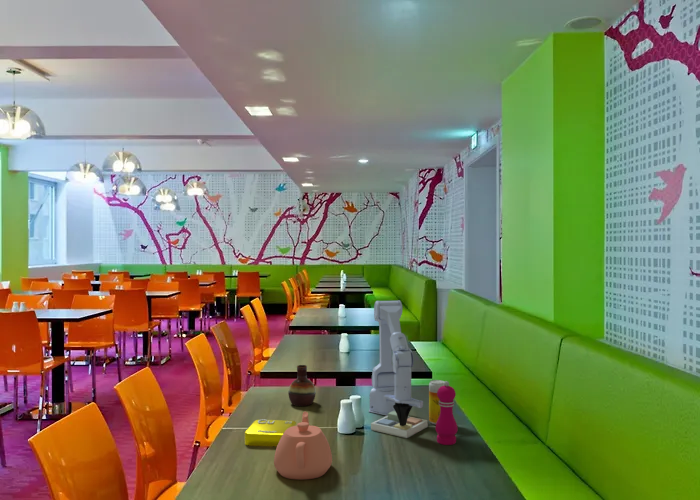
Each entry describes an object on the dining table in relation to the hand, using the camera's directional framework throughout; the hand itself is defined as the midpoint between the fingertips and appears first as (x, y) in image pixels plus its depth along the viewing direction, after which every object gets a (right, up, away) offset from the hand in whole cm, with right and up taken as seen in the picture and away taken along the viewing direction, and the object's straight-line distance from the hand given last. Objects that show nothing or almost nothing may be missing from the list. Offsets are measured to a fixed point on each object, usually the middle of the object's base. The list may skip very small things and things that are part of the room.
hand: (402, 425), depth 195 cm
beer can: (+14, -3, +11) cm, 18 cm away
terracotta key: (+4, -2, +6) cm, 7 cm away
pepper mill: (+13, -3, -9) cm, 16 cm away
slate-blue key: (-6, -2, +4) cm, 7 cm away
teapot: (-32, -4, -30) cm, 44 cm away
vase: (-38, -3, +36) cm, 53 cm away
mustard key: (0, -2, 0) cm, 2 cm away
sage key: (-2, -1, +10) cm, 10 cm away
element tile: (-45, -4, -5) cm, 45 cm away
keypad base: (-1, -3, +5) cm, 6 cm away
